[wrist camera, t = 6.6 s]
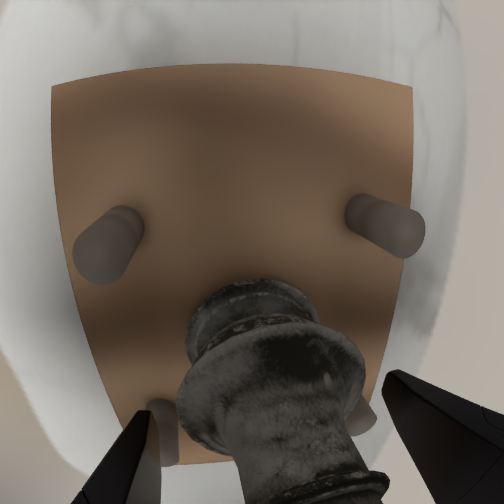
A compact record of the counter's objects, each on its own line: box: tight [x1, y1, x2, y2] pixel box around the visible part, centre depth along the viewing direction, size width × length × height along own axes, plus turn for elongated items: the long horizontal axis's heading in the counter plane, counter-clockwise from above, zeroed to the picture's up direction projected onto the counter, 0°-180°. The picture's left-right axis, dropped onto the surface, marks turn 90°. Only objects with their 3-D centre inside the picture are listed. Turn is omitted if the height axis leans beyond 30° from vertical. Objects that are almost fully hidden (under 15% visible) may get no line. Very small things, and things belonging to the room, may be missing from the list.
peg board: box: [51, 64, 425, 467], centre depth 12 cm, size 20×14×4 cm
